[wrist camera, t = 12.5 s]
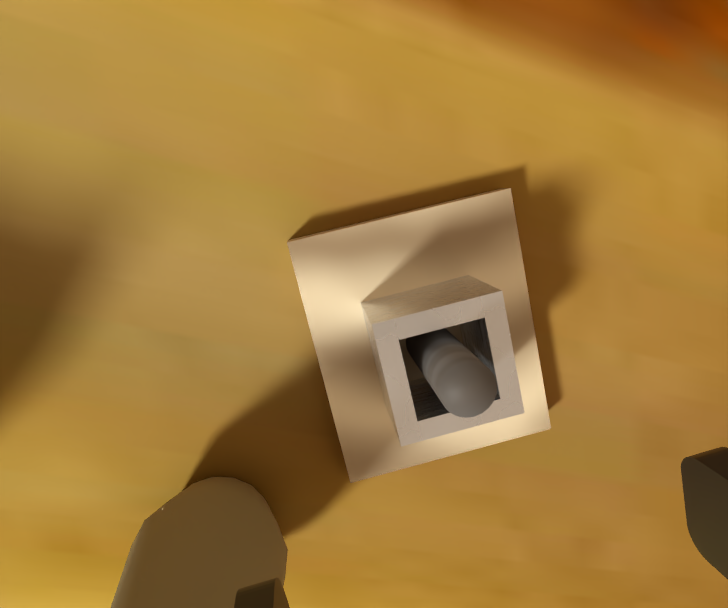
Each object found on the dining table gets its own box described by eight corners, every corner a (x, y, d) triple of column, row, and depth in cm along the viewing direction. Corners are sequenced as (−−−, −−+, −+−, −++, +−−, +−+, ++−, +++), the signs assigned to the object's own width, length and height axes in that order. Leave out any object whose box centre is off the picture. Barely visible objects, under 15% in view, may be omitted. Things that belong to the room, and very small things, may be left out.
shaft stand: (288, 240, 28) (279, 258, 20) (500, 188, 29) (584, 184, 20) (348, 469, 31) (364, 574, 23) (539, 418, 32) (627, 500, 23)
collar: (360, 302, 28) (371, 324, 23) (468, 274, 28) (502, 290, 23) (385, 405, 29) (401, 446, 24) (488, 377, 30) (524, 412, 25)
